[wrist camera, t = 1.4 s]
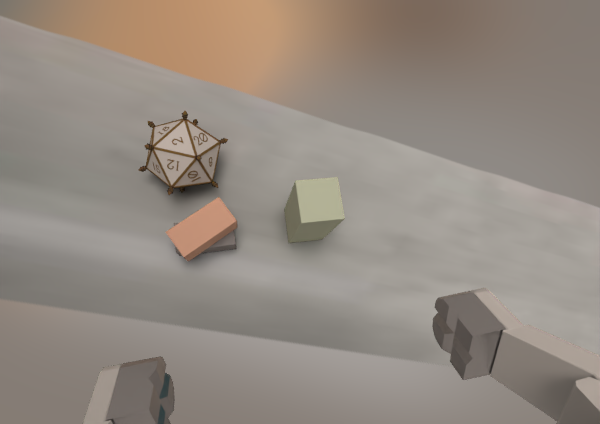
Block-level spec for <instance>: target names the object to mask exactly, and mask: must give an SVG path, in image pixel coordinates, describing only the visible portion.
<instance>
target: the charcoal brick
mask: <svg viewBox="0 0 600 424" xmlns="http://www.w3.org/2000/svg"><path fill="white" fill-rule="evenodd" d="M177 224H179V223H174V226H176V225H177ZM231 249H236V244H235V235H234V230H233V231H232V232H230V233H229V234H227V235H226V236H224V237H223V238H222V239H220V240H219V241H217V242H216V243H214V244H213V245H211V246H210V247H209V248H207V249H206V250H204V251H203V252H201V253H207V252H215V251H223V250H231ZM176 252H177V253H178V254H179V255H180V256H182V254H181V253H180V251H179V250H178V249H177V247H176Z"/></svg>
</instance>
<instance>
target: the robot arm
mask: <svg viewBox="0 0 600 424" xmlns="http://www.w3.org/2000/svg"><path fill="white" fill-rule="evenodd" d="M435 308H436V310H437V311H438V313H437V314H436V316H435V317H434V318H433V331H434V335H435V338H436V340H437V342H438V344H439V345H440V347H441V348H442V349H443V350H445V351H446V352H448V353H450V354H451V358H450V362H451V363H452V365H453V366H454V368H455V369H456V370H457V372H458V373H459V375H460V376H461V378H462V379H463V380H467V379H471V378H476V377H481V376H485V375H490V374H491V375H490V376H491V377H493V378H494V379H496V380H497V381H498V382H500V383H501V384H503V385H504V386H506V387H507V388H509V389H510V390H512V391H513V392H515V393H516V394H517V395H519V396H520V397H522V398H523V399H525V400H526V401H528V402H529V403H531V404H532V405H534V406H535V407H537V408H538V409H540V410H541V411H543V412H544V413H546V414H547V415H548V416H550V417H551V418H553V419H554V420H556V421H557V423H556V424H600V356H599V355H597V354H595V353H592V352H590V351H588V350H585V349H583V348H581V347H579V346H576V345H574V344H572V343H569V342H567V341H565V340H563V339H560V338H558V337H556V336H553V335H551V334H549V333H547V332H544V331H542V330H540V329H537V328H535V327H533V326H531V325H523V324H522V323H521V322H520V321H519V320H518V319H517V318H516V317H515V316H514V315H513V314H512V313H511V312H510V311H509V310H508V309H507V308H506V307H505V306H504V305H503V304H502V303H501V302H500V301H499V300H498V299H497V298H496V297H495V296H494V295H493V294H492V293H491V292H490V291H489V290H488V289H486V288H481V289H476V290H472V291H468V292H462V293H457V294H453V295H449V296H444V297H440V298H438V299H437V300H436V303H435ZM165 369H166V364H165V361H164V359H163V357H156V358H150V359H144V360H139V361H134V362H128V363H123V364H119V365H113V366H108V367H104V368H103V369H102V370H101V371H100V373H99V375H98V378H97V381H96V384H95V387H94V390H93V393H92V396H91V399H90V402H89V405H88V408H87V411H86V414H85V418H84V421H83V423H82V424H170V422H169V419H168V418H169V416H170V415H171V413H172V412H173V411H174V387H173V382H172V379H171V376H170V375H169V374H167V373H165Z"/></svg>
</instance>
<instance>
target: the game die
mask: <svg viewBox="0 0 600 424" xmlns="http://www.w3.org/2000/svg"><path fill="white" fill-rule="evenodd" d="M187 116H188V113H187V112H186V111H184V112H183V113H182V117H183V119H180V120H176V121H172V122H169V123H165V124H161V125H158V126H155V125H154V123H153V122H150V121H148V125H149V126H150V127H152V128H153V130H152V136H151V141H150V144H148V143H147V145H145V147H146V149H148V150H149V152H148V157H147V162H146V166H142V167H140V169H139V171H142V172H143V171H145V170H146V169H148V170H149V171H150V172H152V173H153V174H154V175H155V176H157V177H158V178H159V179H160V180H162V181H163V182H164V183H165V184H167V185H168V186H169V187H170V188H168V190H167V191H168V194H169V195H170V194H171V193H173V188H180V191H181V192H183V191H185V190H184V189H185V188H184V187H187V186H194V185H201V184H207V183H212V186H214V187H217V188H218V183H216V182H214V181H213V179H214V174H215V169H216V164H217V159H218V154H219V149H220V144H221V143H223V144H224V143H226V142H227V140H228V139H225V138H224V139H221V140H218V139H216V138H215V137H213V136H212V135H210V134H209V133H207V132H206V131H204V130H203V129H201V128H200V127H198V126H197V123H198V121H197V119H195V120H193V123H192V122H190V121H189V120H187Z"/></svg>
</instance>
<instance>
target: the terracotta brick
mask: <svg viewBox="0 0 600 424" xmlns="http://www.w3.org/2000/svg"><path fill="white" fill-rule="evenodd" d="M236 228H237V221H236V219H235V218H234V217H233V215H232V214H231V213H230V211H229V210H228V208H227V207H226V206H225V204H224V203H223V202H222V200H221V199H220V198H219V197H218V198H217V199H215V200H214V201H212V202H211V203H209V204H207V205H206V206H204V207H203V208H201V209H200V210H198V211H197V212H195V213H194V214H192V215H191V216H189V217H188V218H186V219H185V220H183V221H182V222H180V223H179V224H177V225H176V226H174V227H172V228H171V229H169V230H168V231H166V233H167V235H168V236H169V237H170V239H171V240H172V242H173V243H174V244H175V246H176V247H177V249H178V250H179V251H180V253H181V254H182V256H183V257H184V258H185V259H186V260H187V261H190V260H191V259H193V258H194V257H196V256H197V255H199V254H200V253H201V252H203V251H204V250H206V249H207V248H209V247H210V246H211V245H213V244H214V243H216V242H217V241H219V240H220V239H222V238H223V237H224V236H226V235H227V234H229V233H230V232H232V231H233V230H234V229H236Z"/></svg>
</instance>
